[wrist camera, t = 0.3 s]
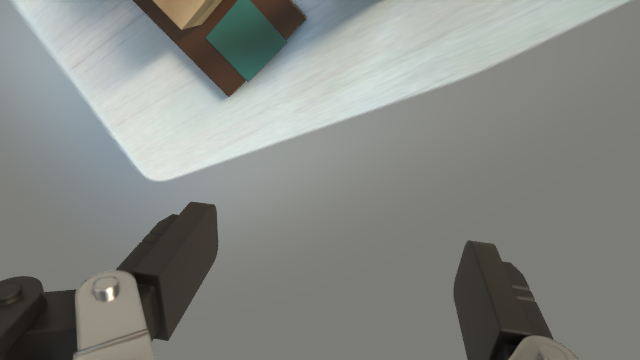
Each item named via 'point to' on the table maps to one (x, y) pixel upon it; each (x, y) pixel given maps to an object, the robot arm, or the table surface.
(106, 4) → the table surface
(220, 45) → the board
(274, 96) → the table surface
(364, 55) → the table surface
